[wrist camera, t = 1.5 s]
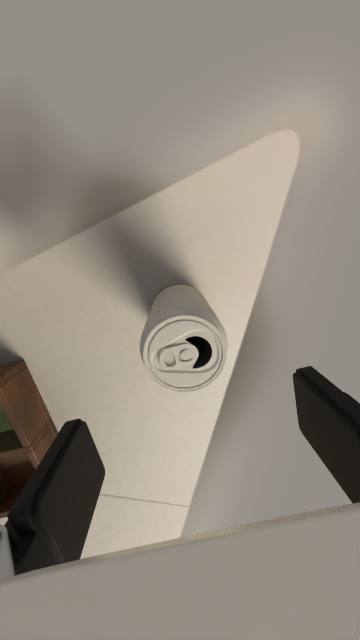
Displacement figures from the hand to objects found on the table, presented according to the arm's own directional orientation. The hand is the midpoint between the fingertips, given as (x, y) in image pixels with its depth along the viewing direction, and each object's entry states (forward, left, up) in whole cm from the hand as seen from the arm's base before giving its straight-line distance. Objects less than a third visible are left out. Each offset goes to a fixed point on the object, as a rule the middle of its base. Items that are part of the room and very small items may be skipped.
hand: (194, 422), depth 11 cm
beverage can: (0, 0, -18) cm, 18 cm away
